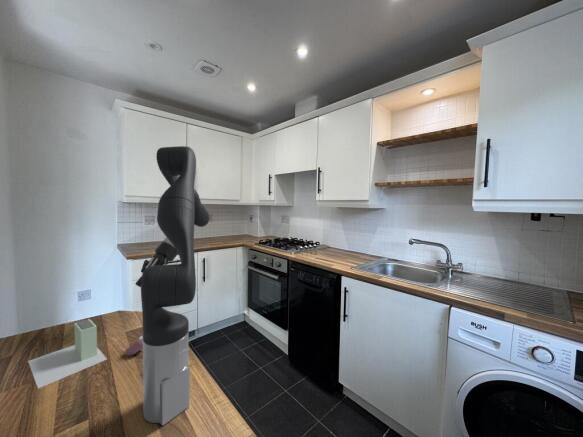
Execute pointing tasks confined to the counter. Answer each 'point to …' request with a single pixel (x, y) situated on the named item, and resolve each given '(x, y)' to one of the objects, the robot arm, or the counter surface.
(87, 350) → the block
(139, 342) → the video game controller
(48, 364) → the mat
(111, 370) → the counter surface
